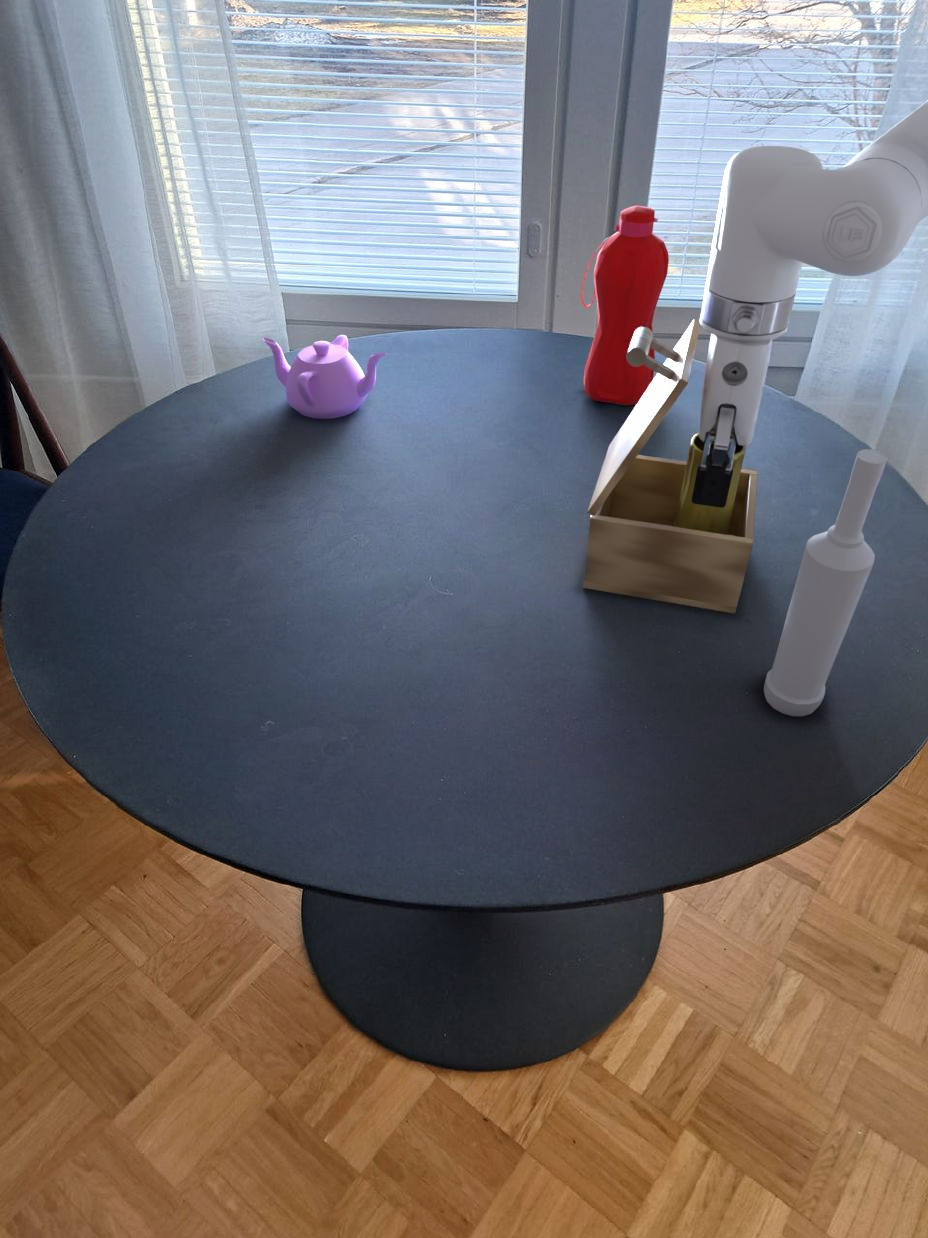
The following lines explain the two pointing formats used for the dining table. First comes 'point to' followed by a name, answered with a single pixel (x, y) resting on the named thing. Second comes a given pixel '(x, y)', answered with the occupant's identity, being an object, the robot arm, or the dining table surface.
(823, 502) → the dining table surface
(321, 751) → the dining table surface
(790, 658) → the bottle
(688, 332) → the lid
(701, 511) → the vase
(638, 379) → the water bottle
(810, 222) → the robot arm
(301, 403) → the teapot
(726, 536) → the box
